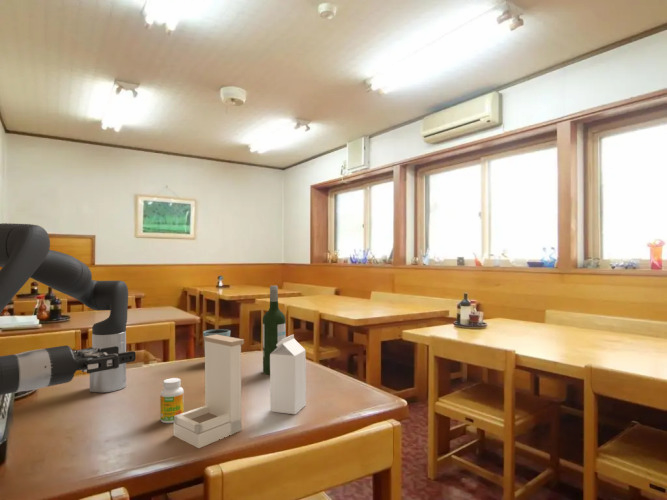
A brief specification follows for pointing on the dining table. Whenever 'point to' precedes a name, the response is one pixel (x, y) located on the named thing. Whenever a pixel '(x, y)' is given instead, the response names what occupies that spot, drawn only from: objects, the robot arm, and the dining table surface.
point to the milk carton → (287, 377)
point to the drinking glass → (216, 331)
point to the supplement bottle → (171, 400)
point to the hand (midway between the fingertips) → (126, 353)
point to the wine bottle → (272, 328)
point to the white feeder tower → (215, 395)
